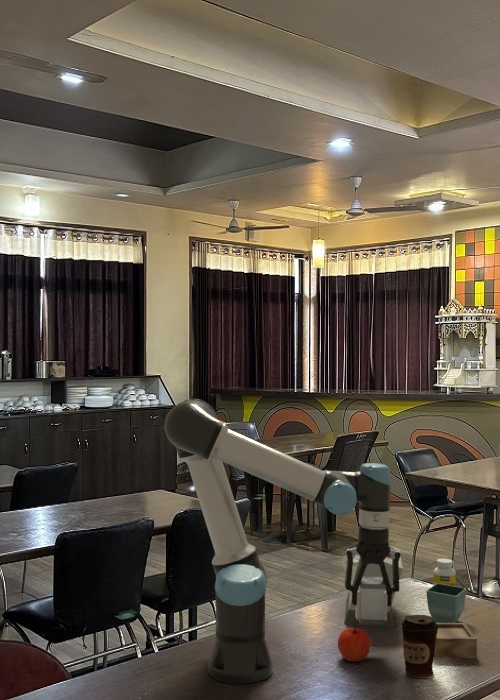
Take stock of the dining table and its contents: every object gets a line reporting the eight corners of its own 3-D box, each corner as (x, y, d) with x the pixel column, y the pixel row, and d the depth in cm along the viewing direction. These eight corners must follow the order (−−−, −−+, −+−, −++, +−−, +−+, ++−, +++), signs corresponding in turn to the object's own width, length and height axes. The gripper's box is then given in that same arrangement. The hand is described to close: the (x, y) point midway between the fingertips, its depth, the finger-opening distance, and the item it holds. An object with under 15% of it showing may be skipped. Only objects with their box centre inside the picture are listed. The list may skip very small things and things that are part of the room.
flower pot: (467, 619, 219) (467, 587, 219) (457, 629, 212) (457, 596, 212) (436, 614, 224) (436, 582, 224) (425, 623, 217) (425, 590, 217)
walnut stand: (431, 658, 192) (431, 638, 192) (422, 641, 203) (422, 622, 203) (476, 658, 192) (476, 638, 192) (465, 641, 203) (465, 622, 203)
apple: (350, 650, 197) (350, 618, 197) (377, 659, 192) (377, 626, 192) (330, 659, 192) (330, 626, 192) (357, 668, 186) (357, 634, 186)
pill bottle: (434, 601, 235) (434, 563, 235) (432, 595, 241) (432, 557, 241) (456, 603, 234) (456, 564, 234) (454, 596, 240) (454, 558, 240)
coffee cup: (430, 685, 177) (430, 627, 177) (395, 676, 182) (395, 620, 181) (442, 671, 185) (443, 616, 184) (409, 663, 189) (409, 609, 189)
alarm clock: (346, 600, 237) (346, 532, 236) (399, 602, 234) (399, 534, 234) (344, 624, 216) (344, 550, 216) (402, 627, 214) (402, 552, 214)
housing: (360, 624, 194) (360, 583, 194) (357, 615, 200) (358, 576, 200) (384, 624, 194) (385, 584, 194) (381, 616, 200) (381, 577, 200)
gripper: (337, 528, 193) (334, 622, 194) (414, 531, 193) (411, 625, 193) (334, 521, 201) (331, 611, 201) (409, 524, 201) (406, 614, 201)
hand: (370, 618), depth 197 cm, fingers closed on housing, 6 cm apart
